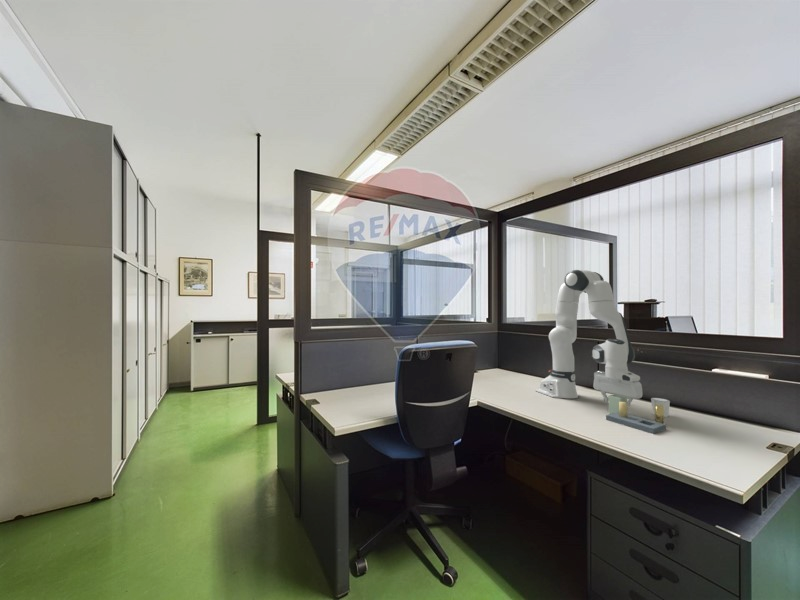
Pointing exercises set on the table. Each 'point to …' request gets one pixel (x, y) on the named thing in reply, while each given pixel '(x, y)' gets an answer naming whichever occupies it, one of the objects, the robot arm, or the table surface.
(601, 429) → the table surface
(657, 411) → the pin
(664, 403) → the shot glass
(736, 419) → the table surface
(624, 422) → the pin board
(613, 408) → the block
